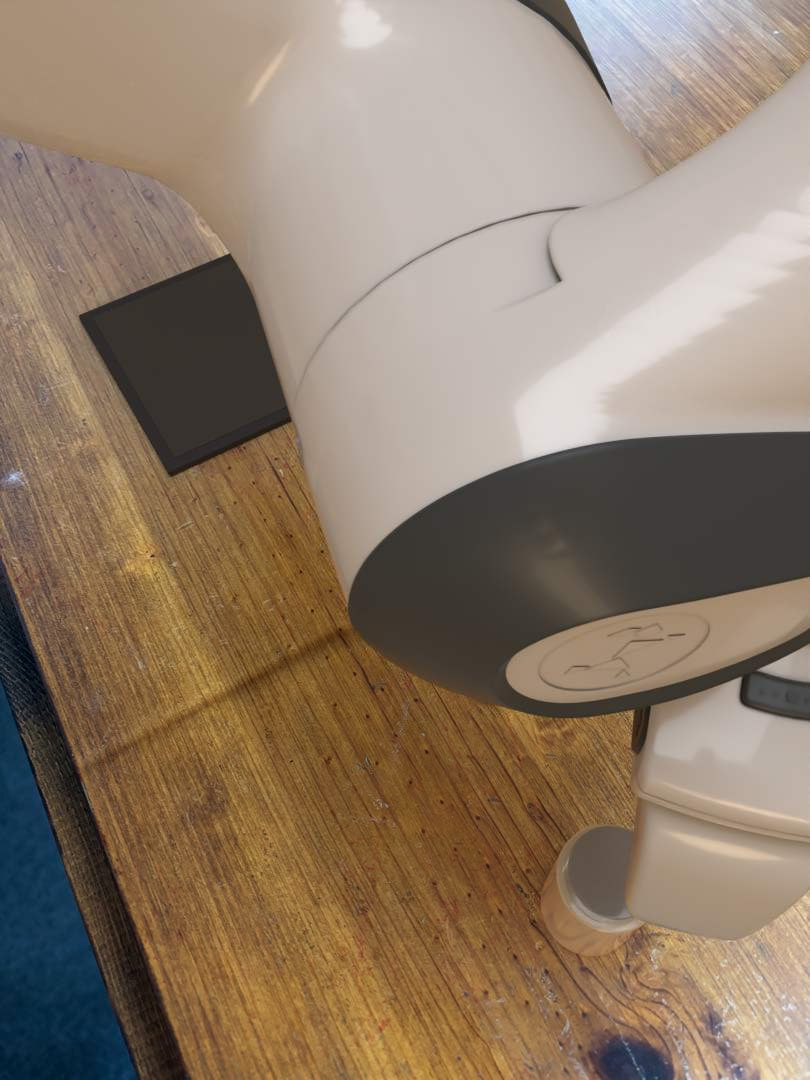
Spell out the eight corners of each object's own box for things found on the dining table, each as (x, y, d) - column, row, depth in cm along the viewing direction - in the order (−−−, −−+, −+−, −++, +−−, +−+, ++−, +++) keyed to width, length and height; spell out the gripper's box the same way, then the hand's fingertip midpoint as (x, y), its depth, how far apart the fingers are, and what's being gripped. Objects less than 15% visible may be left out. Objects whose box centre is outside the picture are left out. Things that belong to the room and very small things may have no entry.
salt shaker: (576, 975, 56) (602, 950, 49) (521, 888, 58) (538, 851, 51) (655, 923, 57) (691, 891, 50) (598, 839, 60) (625, 797, 52)
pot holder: (170, 477, 71) (168, 471, 71) (80, 320, 78) (77, 314, 78) (376, 381, 76) (376, 375, 75) (273, 240, 82) (272, 234, 82)
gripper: (704, 255, 36) (628, 477, 48) (631, 841, 26) (557, 938, 38) (893, 287, 36) (768, 504, 48) (891, 901, 26) (733, 981, 38)
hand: (674, 702), depth 43 cm, fingers open, 8 cm apart
